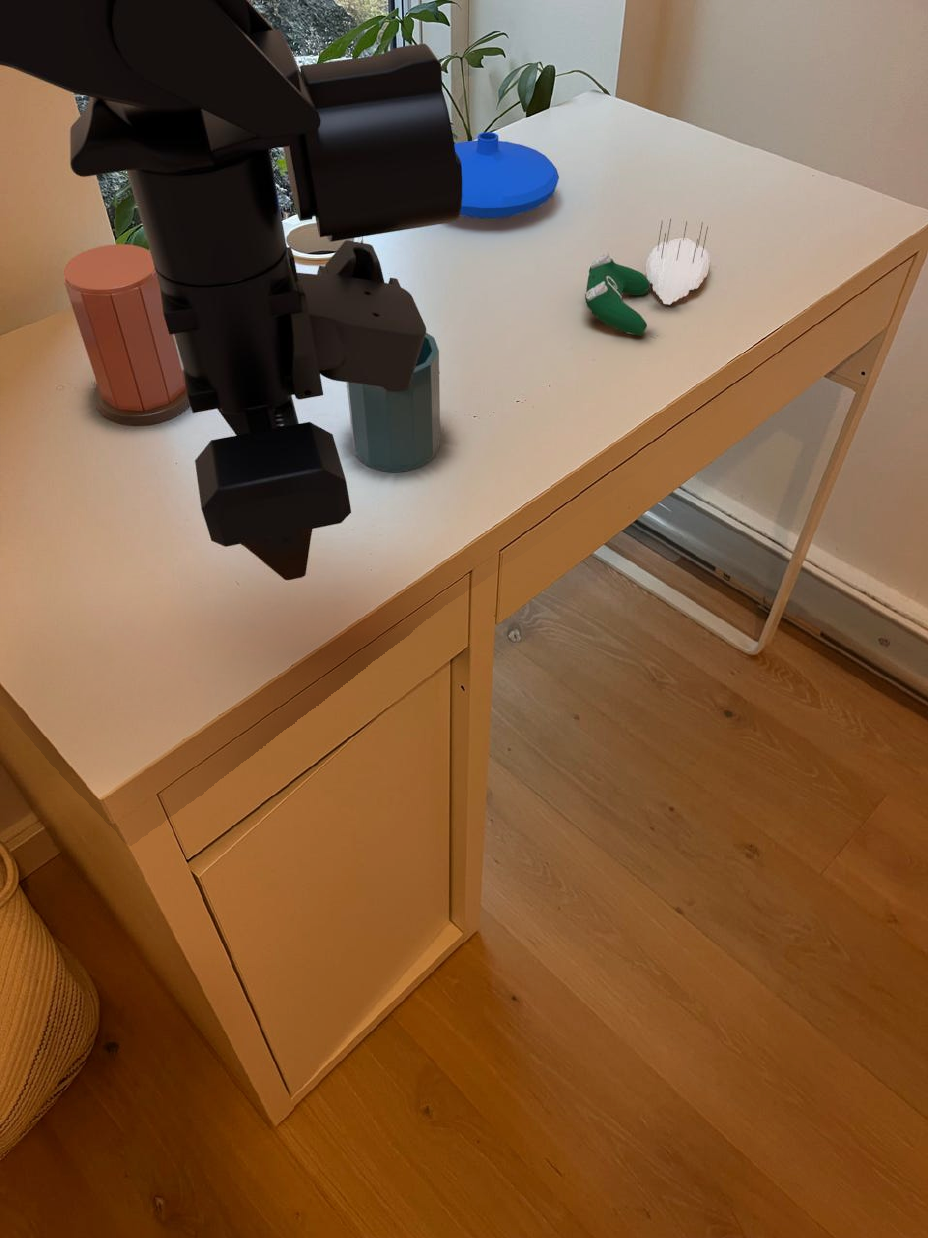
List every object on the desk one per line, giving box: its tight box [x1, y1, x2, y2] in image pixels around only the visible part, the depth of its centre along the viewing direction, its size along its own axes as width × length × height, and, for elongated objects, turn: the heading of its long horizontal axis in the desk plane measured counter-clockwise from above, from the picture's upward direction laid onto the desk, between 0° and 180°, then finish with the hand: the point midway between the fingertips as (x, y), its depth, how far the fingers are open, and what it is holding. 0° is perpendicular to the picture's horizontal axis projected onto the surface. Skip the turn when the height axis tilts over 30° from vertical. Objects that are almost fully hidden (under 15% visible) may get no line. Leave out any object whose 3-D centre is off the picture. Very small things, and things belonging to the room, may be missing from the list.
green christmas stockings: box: [584, 252, 651, 337], centre depth 92 cm, size 9×4×6 cm
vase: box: [454, 131, 560, 220], centre depth 106 cm, size 16×16×7 cm
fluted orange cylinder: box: [63, 243, 186, 411], centre depth 79 cm, size 7×7×11 cm
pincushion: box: [645, 218, 711, 306], centre depth 96 cm, size 12×6×6 cm, turn 163°
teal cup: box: [345, 332, 441, 473], centre depth 76 cm, size 7×7×9 cm
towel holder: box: [93, 384, 191, 426], centre depth 82 cm, size 8×8×6 cm
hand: (282, 519), depth 54 cm, fingers open, 9 cm apart
